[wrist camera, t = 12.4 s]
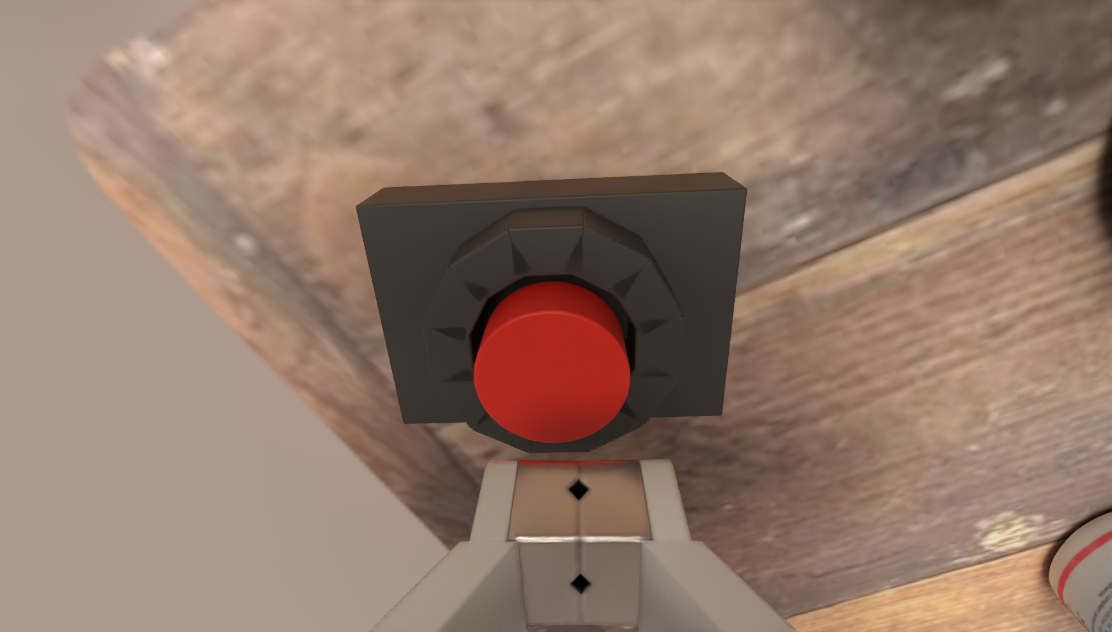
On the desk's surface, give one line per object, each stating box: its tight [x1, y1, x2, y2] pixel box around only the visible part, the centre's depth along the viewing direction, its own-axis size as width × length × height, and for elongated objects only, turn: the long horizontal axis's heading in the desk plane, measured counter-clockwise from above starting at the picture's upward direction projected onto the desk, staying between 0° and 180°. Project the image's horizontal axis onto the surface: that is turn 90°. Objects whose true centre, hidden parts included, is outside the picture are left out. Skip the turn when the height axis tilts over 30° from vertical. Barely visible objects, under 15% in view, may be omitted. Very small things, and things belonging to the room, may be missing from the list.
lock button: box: [474, 281, 630, 443], centre depth 13 cm, size 4×4×2 cm
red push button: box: [356, 172, 747, 453], centre depth 15 cm, size 10×7×4 cm
